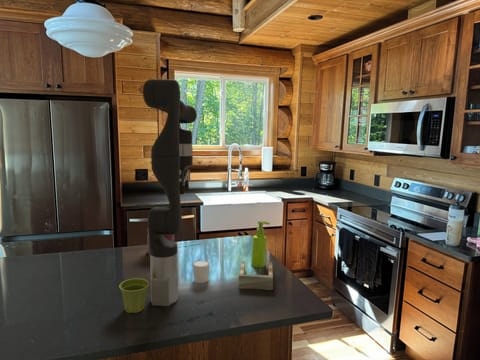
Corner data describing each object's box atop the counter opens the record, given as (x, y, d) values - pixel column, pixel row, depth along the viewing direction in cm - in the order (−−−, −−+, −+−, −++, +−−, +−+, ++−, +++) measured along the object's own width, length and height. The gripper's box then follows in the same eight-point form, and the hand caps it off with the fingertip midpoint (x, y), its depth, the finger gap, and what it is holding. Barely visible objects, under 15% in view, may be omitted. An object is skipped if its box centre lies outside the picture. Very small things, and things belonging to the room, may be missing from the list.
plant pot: (138, 298, 118) (138, 275, 117) (155, 308, 113) (154, 283, 111) (114, 309, 111) (113, 284, 110) (130, 319, 105) (129, 293, 104)
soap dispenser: (266, 268, 147) (269, 223, 145) (250, 266, 148) (253, 222, 146) (267, 263, 153) (270, 220, 150) (252, 262, 154) (255, 219, 151)
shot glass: (189, 281, 133) (189, 264, 132) (199, 275, 139) (199, 258, 138) (203, 285, 130) (203, 268, 129) (213, 278, 136) (213, 262, 135)
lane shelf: (272, 289, 127) (273, 277, 127) (238, 288, 128) (238, 275, 127) (271, 270, 145) (271, 259, 144) (241, 269, 145) (241, 258, 145)
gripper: (188, 155, 134) (188, 195, 136) (195, 153, 148) (195, 189, 150) (170, 155, 134) (170, 195, 136) (179, 153, 148) (179, 189, 150)
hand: (183, 192), depth 143 cm, fingers open, 8 cm apart
